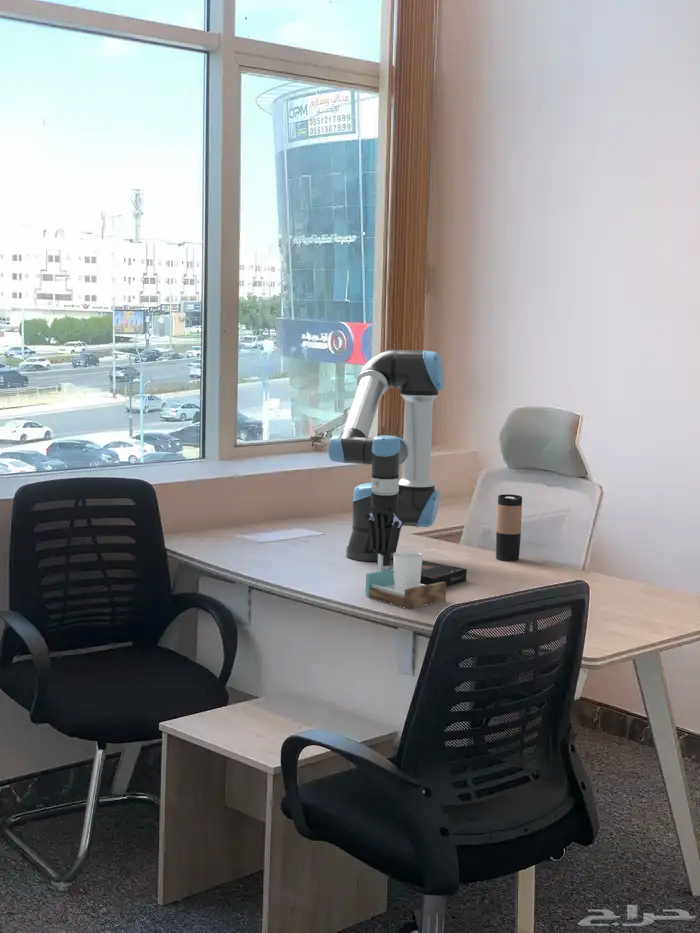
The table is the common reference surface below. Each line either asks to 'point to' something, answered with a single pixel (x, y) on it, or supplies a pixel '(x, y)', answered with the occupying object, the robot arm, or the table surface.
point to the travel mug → (508, 527)
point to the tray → (382, 582)
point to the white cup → (407, 570)
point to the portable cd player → (441, 574)
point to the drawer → (413, 595)
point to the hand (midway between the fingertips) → (382, 576)
